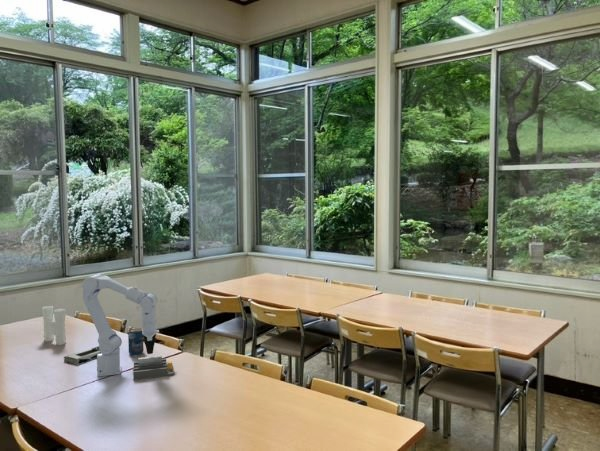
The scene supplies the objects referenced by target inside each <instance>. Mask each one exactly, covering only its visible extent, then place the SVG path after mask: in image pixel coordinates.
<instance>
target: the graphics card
mask: <svg viewBox="0 0 600 451" xmlns="http://www.w3.org/2000/svg"><path fill="white" fill-rule="evenodd" d="M120 349H121V348H120V347H119V350H120ZM100 353H101V352H100V350H99V345H98V346H96V347H93V348H90V349H87V350H83V351H80V352H77V353H73V354H69V355H65V356H63V362H64V363H66V362H67V363H71V364H74V365H76V366H77V365H78V366H80V365H81V364H83V363H87V362H89V361H90V362H91V361H92V360H95V359H97V354H100Z"/></svg>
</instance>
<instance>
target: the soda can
mask: <svg viewBox="0 0 600 451" xmlns="http://www.w3.org/2000/svg"><path fill="white" fill-rule="evenodd" d="M142 332H143V328H131V329H129V332H128V334H127V335H128V336H127V337H128V341H127V342H128V354H129V355H130V356H132V357H133V356H134V357H135V356H136V357H139V356H141V355H142V354H143V353H144V348H145V347H144V342H143V338H144V337H143V334H142Z"/></svg>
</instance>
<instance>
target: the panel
mask: <svg viewBox="0 0 600 451" xmlns="http://www.w3.org/2000/svg"><path fill="white" fill-rule="evenodd" d="M162 359H163V355H154V356H144V357H138V359H137V360H138V361H137V362H138V367H148V366H157V365H162Z"/></svg>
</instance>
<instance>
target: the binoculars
mask: <svg viewBox="0 0 600 451" xmlns="http://www.w3.org/2000/svg"><path fill="white" fill-rule="evenodd" d="M41 310H42V312H41V313H42V319H43V340H44V342H49V341H51V342H52V341H53V340H54V338H55V345H58V346H61V345H65V344H66V343H67V342H66V341H67V338H66V309H65V308H56V309H54V306H53V305H47V306H46V305H45V306H42V308H41Z"/></svg>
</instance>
